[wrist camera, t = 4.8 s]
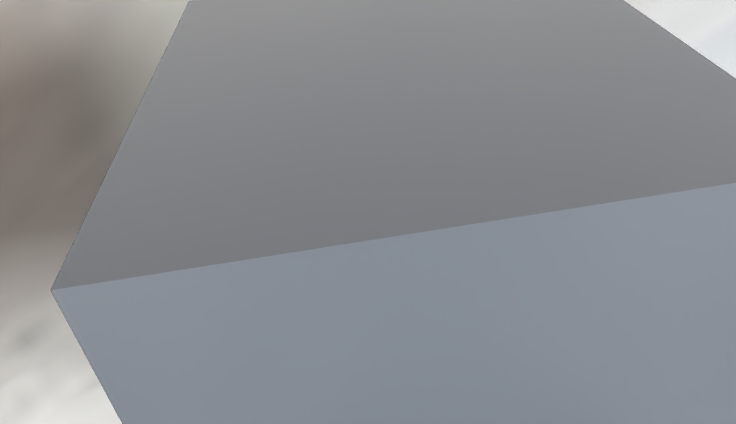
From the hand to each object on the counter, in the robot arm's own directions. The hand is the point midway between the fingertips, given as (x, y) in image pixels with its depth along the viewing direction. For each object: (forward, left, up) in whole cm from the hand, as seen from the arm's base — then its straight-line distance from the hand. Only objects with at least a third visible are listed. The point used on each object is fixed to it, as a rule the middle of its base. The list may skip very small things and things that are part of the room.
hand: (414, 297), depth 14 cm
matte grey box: (0, 0, -3) cm, 3 cm away
